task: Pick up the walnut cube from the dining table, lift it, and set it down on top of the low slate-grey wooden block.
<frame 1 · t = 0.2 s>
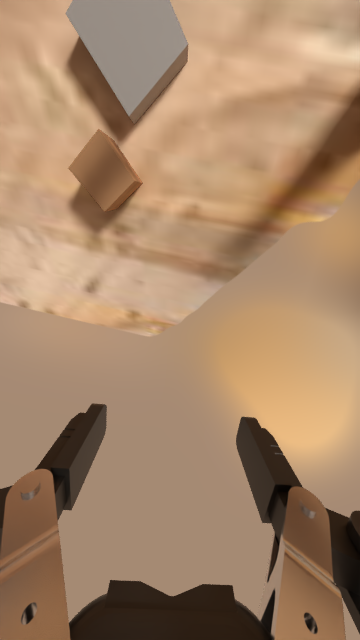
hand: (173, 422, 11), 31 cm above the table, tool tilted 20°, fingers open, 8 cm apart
walnut cube: (115, 177, 29), on the table
slate block: (135, 50, 22), on the table
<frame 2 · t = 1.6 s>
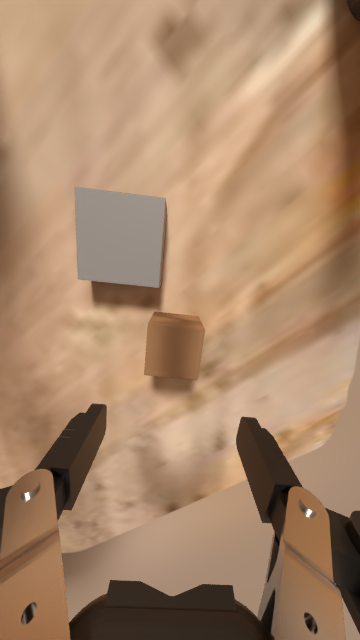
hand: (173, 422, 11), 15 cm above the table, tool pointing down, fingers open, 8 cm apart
walnut cube: (174, 334, 26), on the table
slate block: (128, 245, 23), on the table
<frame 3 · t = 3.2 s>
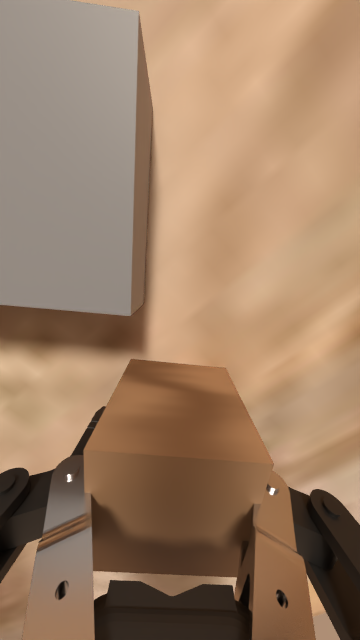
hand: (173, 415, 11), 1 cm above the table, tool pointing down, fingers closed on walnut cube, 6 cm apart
walnut cube: (173, 403, 12), on the table, touching gripper
slate block: (62, 209, 10), on the table
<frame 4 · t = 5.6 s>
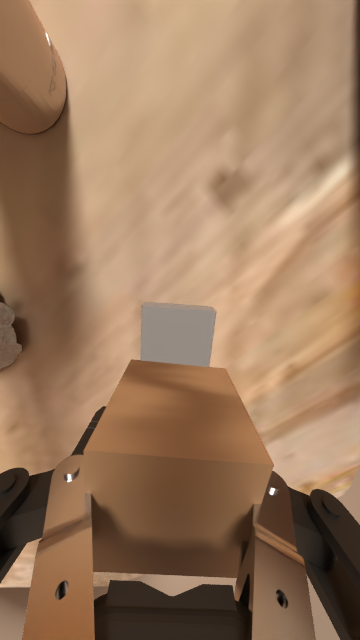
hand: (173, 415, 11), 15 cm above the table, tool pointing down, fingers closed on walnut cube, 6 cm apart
walnut cube: (173, 404, 12), point 14 cm above the table, touching gripper
slate block: (176, 334, 26), on the table
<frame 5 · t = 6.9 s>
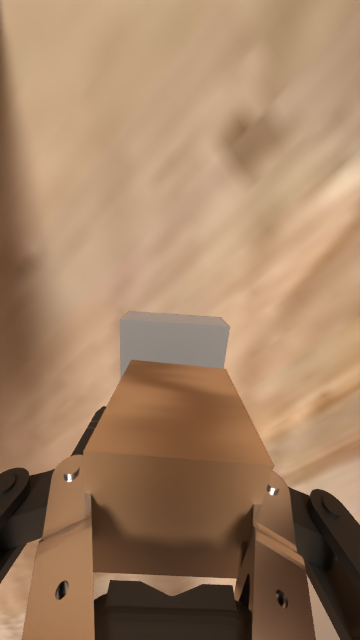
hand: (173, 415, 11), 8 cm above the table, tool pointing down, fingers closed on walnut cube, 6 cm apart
walnut cube: (173, 404, 12), point 7 cm above the table, touching gripper
slate block: (172, 354, 19), on the table
when the fingers open (6 cm above the table, at t = 7.9 s): walnut cube drops 1 cm, resting on slate block.
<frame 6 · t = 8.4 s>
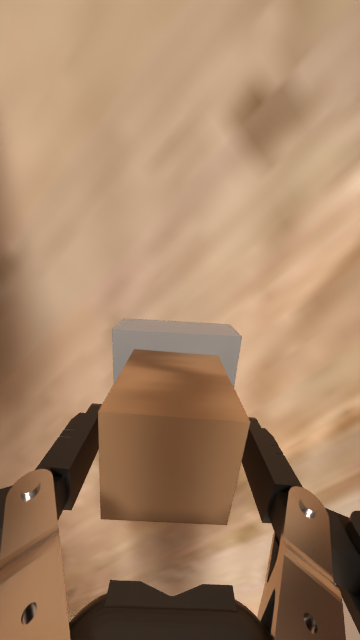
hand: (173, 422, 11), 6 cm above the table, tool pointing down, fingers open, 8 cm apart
walnut cube: (172, 389, 14), point 3 cm above the table, touching slate block
slate block: (174, 366, 17), on the table, touching walnut cube
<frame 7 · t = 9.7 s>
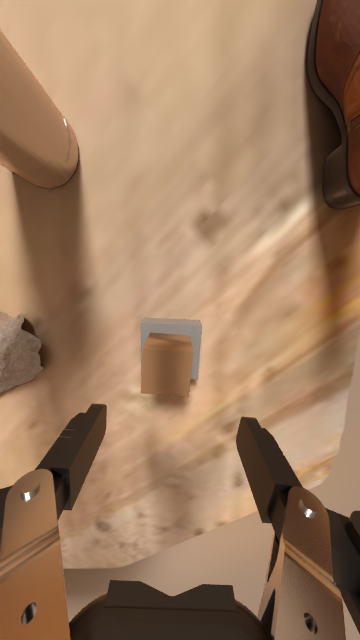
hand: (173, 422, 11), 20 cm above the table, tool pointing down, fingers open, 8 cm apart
walnut cube: (168, 352, 28), point 3 cm above the table
boot: (339, 110, 23), on the table
slate block: (171, 343, 31), on the table
stone: (7, 347, 31), on the table
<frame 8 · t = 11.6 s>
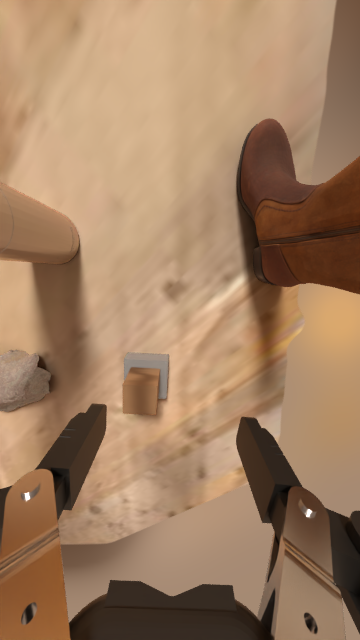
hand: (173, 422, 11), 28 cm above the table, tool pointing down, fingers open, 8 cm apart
walnut cube: (145, 380, 38), point 3 cm above the table
boot: (262, 218, 34), on the table
slate block: (148, 370, 42), on the table
stone: (23, 374, 41), on the table
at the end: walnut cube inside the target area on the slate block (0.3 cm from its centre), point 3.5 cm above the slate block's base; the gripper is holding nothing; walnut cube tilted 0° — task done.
